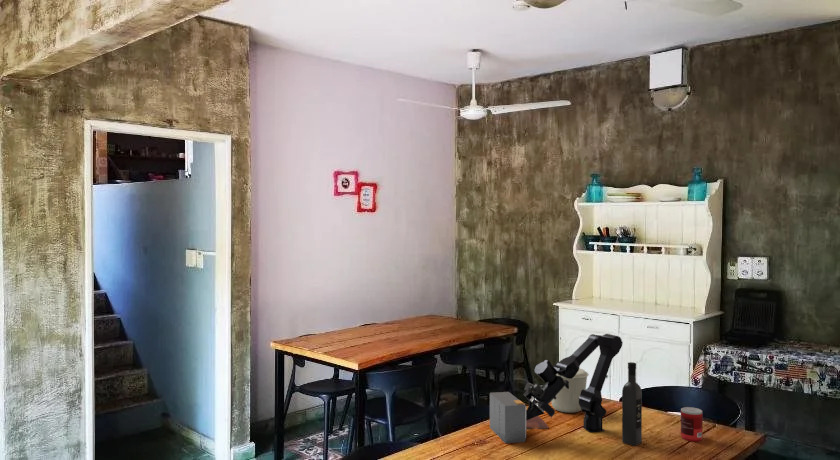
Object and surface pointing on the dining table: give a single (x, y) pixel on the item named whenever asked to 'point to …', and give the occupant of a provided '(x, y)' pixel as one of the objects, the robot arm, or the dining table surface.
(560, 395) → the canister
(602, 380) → the robot arm
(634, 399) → the wine bottle
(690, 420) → the canned food
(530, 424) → the wooden tablet
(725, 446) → the dining table surface
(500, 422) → the small drawer cabinet
